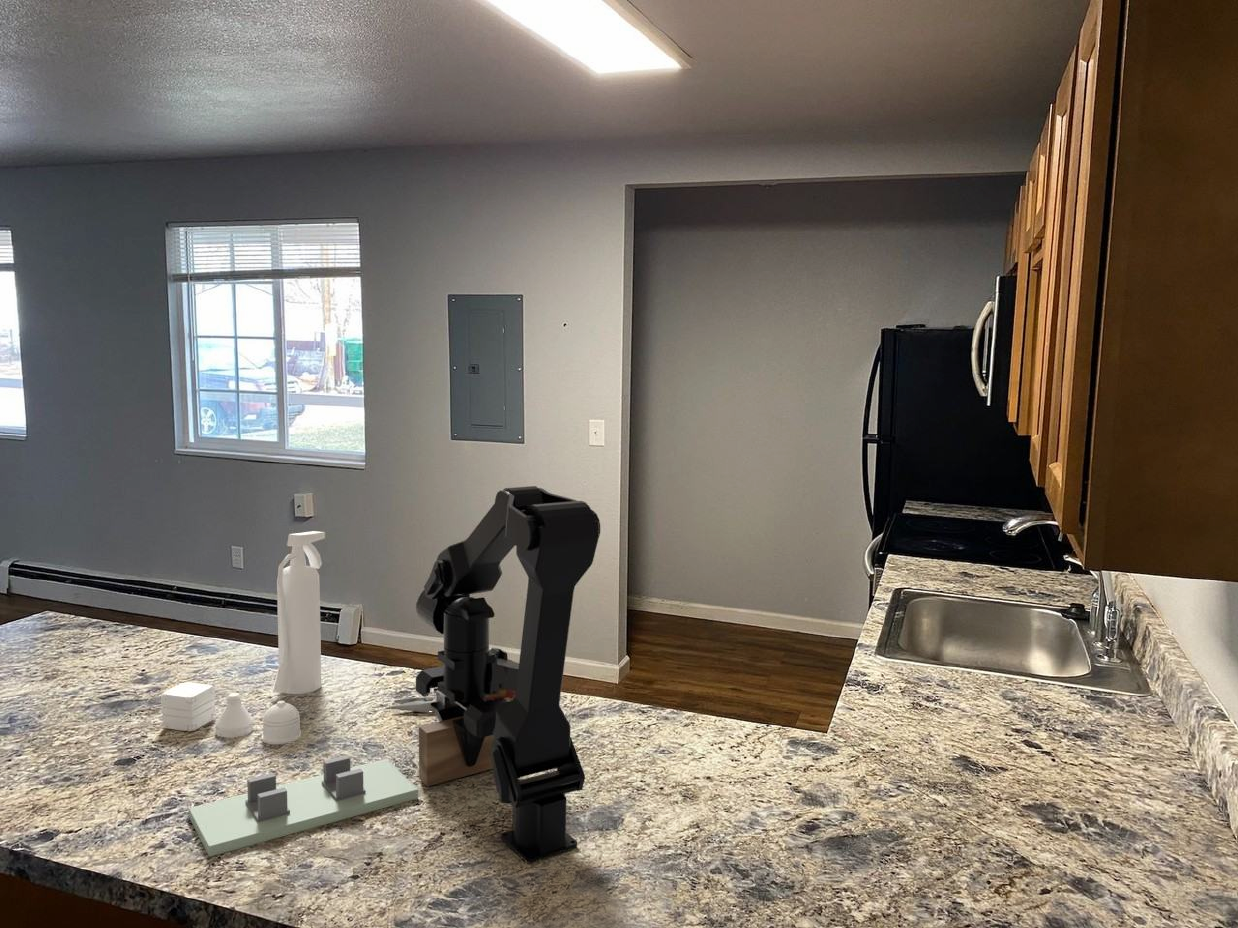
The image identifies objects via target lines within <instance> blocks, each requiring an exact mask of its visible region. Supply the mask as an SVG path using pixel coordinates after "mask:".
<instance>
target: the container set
mask: <svg viewBox="0 0 1238 928" xmlns="http://www.w3.org/2000/svg"><path fill="white" fill-rule="evenodd" d="M241 697H242V696H241V694H239V693H237V692H233V693H230V694H229V695H228V696H226V703H227V705H226V707H225V708H224V709H223V711H222V713H221V714H220V715H219V717H218V719H217V720H216V721H215V735H216V736H218V737H221V738H226V739H228V738H231V739H232V738H239V737H243V736H246V735H248V734H250V733H252V732H253V730H254V717H253V716H252V715H251V714H250V712H249V711H248V710H247V708H245V707H244V705H243V704H242V701H241V700H242V699H241ZM215 698H216V697H215V688H214V686H213V685H212V684H205V683H196V682H188V681H187V682H186V681H185V682H181V683H180V684H177V685H176V686H174V687H171V688H170V689H167V690H166V691H163V692H162V694H161V696H160V708H161V709H160V711H161V725H162V726H163V728H164V729H170V730H176V731H177V730H178V731H186V732H193V731H194V732H195V731H196V730H198V729H199V728H202V727H203V726H205V725H207V724H209V723H210V722H212V721H214V718H215V717H216V706H215V705H216V699H215ZM301 737H302V731H301V716H300V713H299V711H298V709H297V708H296V707H295V706H294V705H292V704H290V703H287V702H285V701H284V700H279V701H277V702H276V704H273V705H271V706H270V707H269V708H267V710H266V711H265V713H264V715H263V717H262V735H261V741H262V742H263V743H265V744H270V745H285V744H289V743H293V742H296V741H298V740H299V739H300V738H301Z"/></svg>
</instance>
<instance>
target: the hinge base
mask: <svg viewBox="0 0 1238 928" xmlns="http://www.w3.org/2000/svg"><path fill="white" fill-rule="evenodd" d="M322 764H323V774H320V775H316V776H312V777H309V778H304V779H300V780H296V781H292V782H288V783H284V784H280V785H277V776H276V774H275V773H274V772H271V773H268V774H267V773H266V774H263V775H262V774H261V775H259V776H254V777H251V778H247V780H246V781H247V783H246V785H247V793H243V794H240V795H235V796H231V797H227V798H223V799H220V800H215V801H212V802H207V803H203V804H200V805H195V806H191V807H188V818H189V820H190V822H191V824H192V826H193V827H194V830H195V832H196V834H197V835H198V837H199V839H200V841H201V843H202V845H203V847H204V849H205V851H206V852H207V855H208V857H209V858H210V857H214V856H217V855H221V854H225V853H228V852H232V851H235V850H239V849H242V848H246V847H249V846H253V845H256V844H260V843H264V842H267V841H271V840H274V839H278V838H281V837H286V836H288V835H292V834H296V833H299V832H304V831H307V830H310V829H315V828H317V827H321V826H325V825H328V824H332V823H335V822H339V821H342V820H345V819H350V818H353V817H357V816H361V815H364V814H368V813H371V812H374V811H378V810H382V809H385V808H388V807H392V806H396V805H400V804H403V803H407V802H410V801H414V800H417V799H419V789H418V788H417V787H416V785H414V784H413V782H411V781H410V779H408V778H407V777H406V776H405V775H404V774H403V773H402V772H401V771H400V770H399V769H398V768H397V767H396V766H394V764H393V763H391V761H389V760H388V759H387V758H384V759H380V760H377V761H372V762H367V763H364V764H363V763H362V764H360V765H356V766H352V767H351V757H350V756H349V755H348V754H345V755H342V756H337V757H333V758H329V759H325V760H323V763H322Z"/></svg>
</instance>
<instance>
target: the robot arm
mask: <svg viewBox="0 0 1238 928" xmlns="http://www.w3.org/2000/svg"><path fill="white" fill-rule="evenodd" d="M600 535H601V522H600V519H599V516H598V514H597V512H595V511H594V509H591V507H590V505H588V503H587V502H585V501H583V500H577V499H573V498H569V497H566V496H563V495H558V494H555V493H552V492H548V491H547V490H545V489H544V488H541V487H538V486H535V485H531V486H530V485H529V486H528V485H527V486H517V487H516V486H515V487H505V488H503V489H502V490H499V491H497V492H496V495H495V499H494V503H493V505H492V506H491V508H490V509H489V510H488V511H487V513H486V514H485V515H484V516H483V518H482V519H481V520H480V521H479V522H478V524H477V526H476V527H475V528H474V529H473V531H472V532H471V533H470V535H468V537H467V538H465V539H464V540H462V541H460V542H456V543H454V544H451V545H449V546H447V547H445V549H443V550H442V551H440V552H439V554H438V556H437V558H436V561H435V562H434V564H433V566H432V569H431V571H430V572H431V573H430V574H429V577H428V579H427V580H426V582H425V584H424V585H423V589H424V590H422V592H420V594H419V596H418V599H417V602H416V604H415V605H416V606H415V609H416V613H417V615H418V617H419V619H420V620H421V621H422V622H424V623H426V624H427V625H428V626H430V628H431V627H432V629H434V630H435V631H436V632H438V633H439V634H441V635H443V650H439V651H437V660H438V661H440V662H441V663H443V665H440V666H436V667H431V668H426V669H425V668H424V669H421V670H420V672H419V673H418V675H416V677H415V692H416V693H417V694H419V695H421V697H426V696H429V695H430V693H431V689H433V692H434V693H435V698H436V702H432V703H431V708H432V709H433V713H435V716H436V718H437V720H438V722H440V721H444V720H449V719H453V718H457V717H461V716H464V718H460V719H456V720H452V724H453V727H454V730H455V733H456V736H457V739H458V742H459V745H460V748H461V752H462V755H463V757H464V760H465V763H466V765H467V766H468V767H471V766H474V765H475V764H476V761H477V759H478V756H479V753H480V750H481V747H482V744H483V741H484V739H485V737H487V736H491V735H494V736H495V737H494V740H493V742H492V747H491V757H492V764H493V769H492V771H493V778H494V783H495V787H496V792H497V793H498V801H499V802H500V803H501V804H508V805H511V807H512V829H510V830H508V831H505V832H502V833H501V834H500V839H501V840H502V841H503V842H504V843H505V844H506V845H507V846H508V847H509V848H510V849H512V851H514V852H515V853H516V854H517V855H518V856H519V857H520V858H521V859H523V860H524V861H525V862H526V863H529V864H531V863H532V864H533V863H535V862H537V861H541V860H544V859H546V858H549V857H553V856H556V855H558V854H560V853H563V852H566V851H569V850H572V849H574V848H575V849H576V848H577V847H578V841H577V839H575V838H574V837H573V836H571V835H570V834H569V833H567V797H566V794H570V793H572V792H576V791H577V792H579V791H583V788H584V785H585V784H584V783H585V780H586V775H585V771H584V769H583V766H582V764H581V762H580V758H579V756H578V752H577V751H576V747H575V745H574V742H573V740H572V737H571V728H572V727H571V724H570V722H569V720H568V719H567V717H566V715H565V713H564V711H563V710H562V707H561V706H560V704H561V703H560V702H561V693H562V687H563V686H562V685H563V679H564V670H565V662H566V661H565V660H566V655H567V648H568V640H569V633H570V631H569V630H570V624H571V616H572V609H573V601H574V600H573V599H574V593H575V587H576V585H578V583H579V581H580V580H581V579H582V577H583V576H584V575H585V574H586V572H587V571H588V570H589V569H590V567H591V566H592V565H593V562H594V559H595V555H596V552H597V547H598V543H599V539H600ZM515 547H516V548H515ZM513 548H515V549H516V552H515V553H516V556H517V558H518V560H519V562H520V564H521V566H522V568H523V570H524V571H525V573H526V575H527V579H528V581H527V582H528V583H527V591H526V599H525V600H526V601H525V610H524V616H523V617H524V618H523V627H522V634H521V644H520V651H519V652H520V654H519V660H518V661H519V662H516V661H514V660H512V659H510V658H509V659H508V653H507V651H505V650H503V649H501V648H497V647H491V649H490V618H491V619H492V618H494V617H495V612H494V609H493V607H492V606H491V605H489V604H488V602H487V600H486V598H485V597H477V598H476V597H473V596H472V597H471V596H470V595H474V594H481V593H486V592H487V593H488V592H492V591H494V589H495V588H496V585H497V584H498V582H499V581H500V578H501V576H502V575H503V571H502V568H501V563H502V561H503V560H504V559H505V558H506V557H507V555H509V553H510V552H511V551H512V550H513ZM499 688H500V689H504V690H510V691H516V694H515V697H514V698H512V699H511V700H507V699H506V698H502V697H501V698H496V699H485V697H486V695H488V694H489V695H495V694H499ZM554 769H556V770H554ZM550 770H554V771H550ZM546 771H550V772H546ZM543 772H546V773H543ZM539 773H542V774H539ZM534 774H538V775H535V776H534ZM532 775H533V776H532ZM526 776H531V777H526ZM522 777H526V778H523V779H519V778H522Z"/></svg>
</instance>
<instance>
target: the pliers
mask: <svg viewBox="0 0 1238 928" xmlns="http://www.w3.org/2000/svg"><path fill="white" fill-rule="evenodd" d="M515 694H516V691H510V690H504V689H500V688H499V694H495V695H489V694H488V695H486V697H485V699H496V698H501V697H502V698H504V699H514V697H515ZM432 702H436V695H430V696H429V695H428V696H426V697H423V696H418V697H417V696H416V697H410V698H404V699H403V698H402V699H396V700H393V703H394V704H396V705H392V706H390V709H391V710H399V711H409V712H416V713H417V712H419V713H429V711H433V712H434V710H433V709H432V708H431V703H432Z"/></svg>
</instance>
